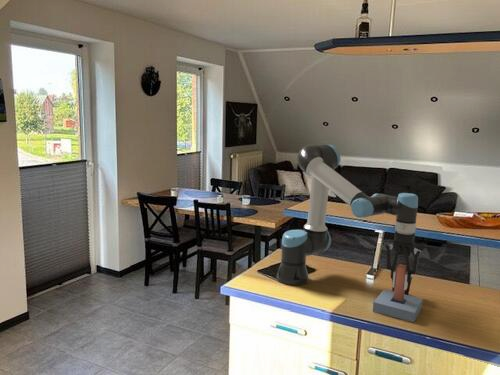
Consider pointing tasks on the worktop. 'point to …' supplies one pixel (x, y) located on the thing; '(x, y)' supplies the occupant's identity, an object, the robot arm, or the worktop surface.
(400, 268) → the peg
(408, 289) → the coffee mug
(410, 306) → the socket slab
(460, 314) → the worktop surface
